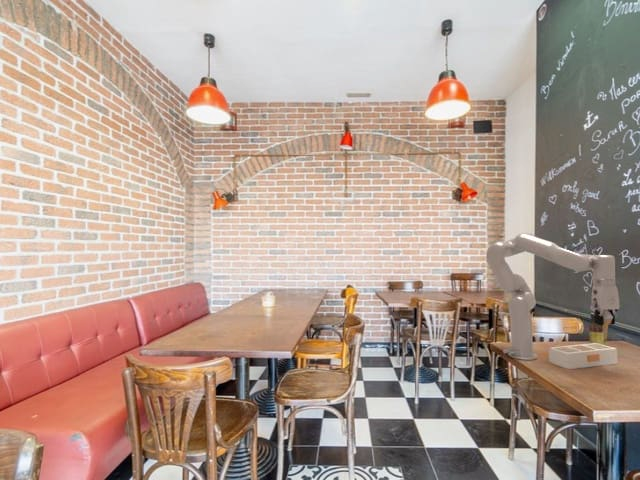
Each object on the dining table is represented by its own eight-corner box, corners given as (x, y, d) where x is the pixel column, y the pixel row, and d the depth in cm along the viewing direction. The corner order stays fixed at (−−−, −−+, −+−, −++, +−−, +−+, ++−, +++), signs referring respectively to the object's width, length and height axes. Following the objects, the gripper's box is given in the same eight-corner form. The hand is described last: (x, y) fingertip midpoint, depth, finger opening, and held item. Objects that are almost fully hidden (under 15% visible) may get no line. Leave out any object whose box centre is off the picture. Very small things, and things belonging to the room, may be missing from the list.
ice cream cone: (614, 342, 147) (614, 307, 148) (598, 340, 150) (597, 306, 151) (612, 339, 152) (611, 305, 152) (596, 337, 155) (595, 304, 155)
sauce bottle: (608, 353, 176) (606, 314, 176) (594, 353, 177) (592, 314, 178) (601, 350, 182) (599, 312, 183) (587, 349, 183) (585, 312, 184)
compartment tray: (569, 369, 155) (568, 354, 155) (549, 362, 165) (548, 347, 166) (619, 364, 160) (618, 348, 161) (596, 357, 171) (595, 343, 171)
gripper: (596, 284, 146) (597, 327, 146) (628, 283, 150) (629, 325, 149) (580, 282, 154) (580, 323, 153) (611, 281, 157) (612, 321, 157)
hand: (605, 323), depth 151 cm, fingers closed on ice cream cone, 5 cm apart
